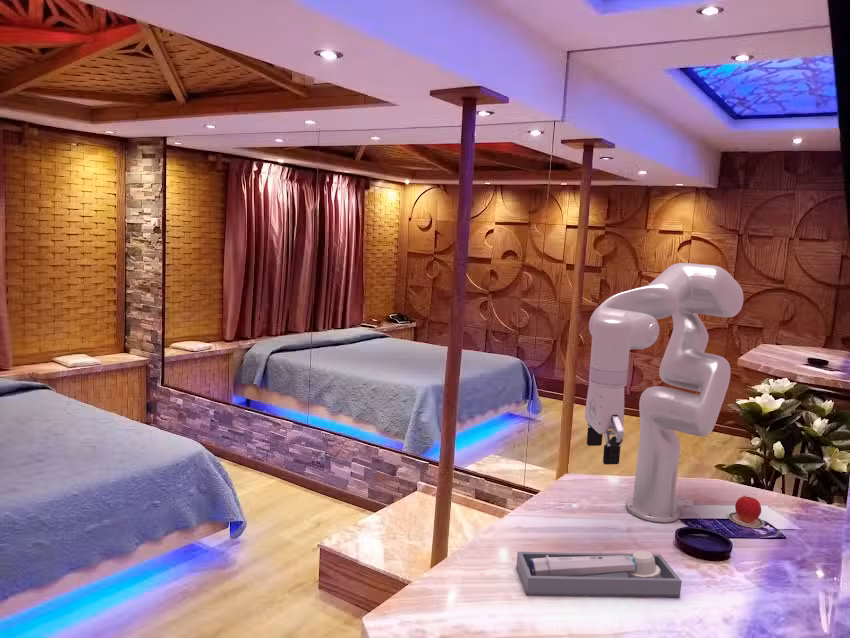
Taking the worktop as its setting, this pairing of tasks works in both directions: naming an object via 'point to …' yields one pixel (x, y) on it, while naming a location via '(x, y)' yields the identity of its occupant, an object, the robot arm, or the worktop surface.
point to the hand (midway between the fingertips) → (602, 454)
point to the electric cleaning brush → (596, 565)
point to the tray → (597, 580)
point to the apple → (747, 513)
